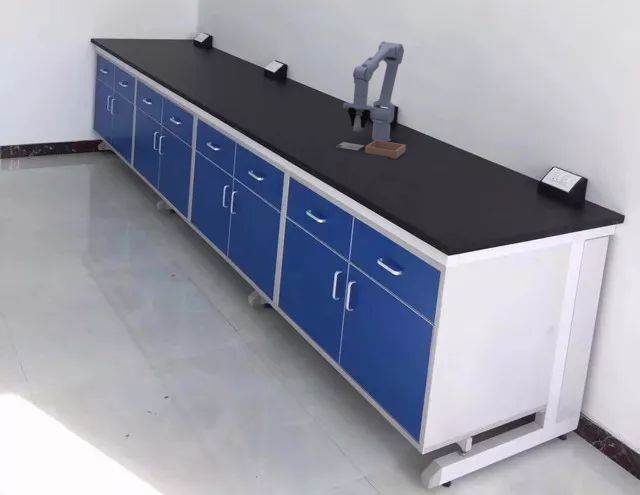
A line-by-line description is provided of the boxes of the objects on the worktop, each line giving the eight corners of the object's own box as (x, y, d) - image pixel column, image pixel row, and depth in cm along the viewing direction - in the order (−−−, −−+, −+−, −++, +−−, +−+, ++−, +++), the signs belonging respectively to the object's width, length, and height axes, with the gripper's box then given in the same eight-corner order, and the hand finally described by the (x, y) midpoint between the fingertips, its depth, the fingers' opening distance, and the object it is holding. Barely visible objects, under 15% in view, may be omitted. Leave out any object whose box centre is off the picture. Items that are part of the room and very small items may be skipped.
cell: (354, 129, 344) (356, 112, 342) (363, 130, 343) (365, 113, 340) (351, 130, 341) (353, 113, 338) (360, 132, 339) (362, 114, 337)
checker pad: (343, 143, 352) (343, 141, 351) (364, 147, 348) (364, 145, 348) (335, 148, 343) (335, 146, 342) (357, 152, 340) (357, 149, 339)
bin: (374, 147, 349) (375, 140, 348) (405, 152, 345) (405, 144, 343) (364, 154, 337) (365, 146, 335) (396, 159, 332) (396, 151, 331)
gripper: (341, 94, 335) (339, 125, 340) (374, 98, 330) (371, 130, 335) (347, 91, 341) (344, 122, 346) (379, 96, 337) (376, 127, 342)
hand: (358, 126), depth 341 cm, fingers closed on cell, 4 cm apart
